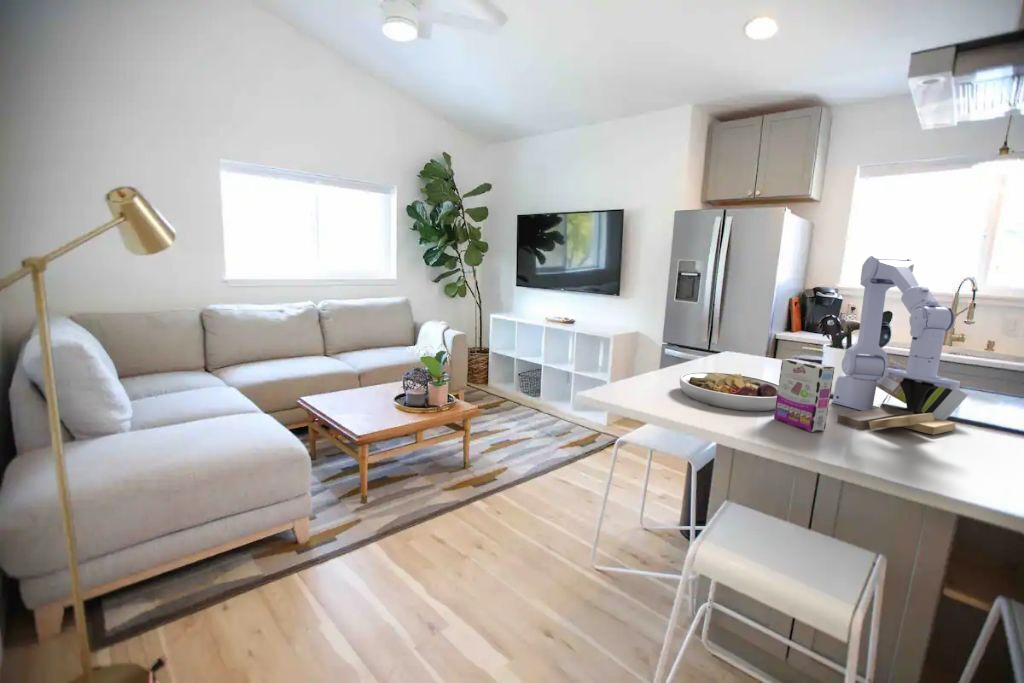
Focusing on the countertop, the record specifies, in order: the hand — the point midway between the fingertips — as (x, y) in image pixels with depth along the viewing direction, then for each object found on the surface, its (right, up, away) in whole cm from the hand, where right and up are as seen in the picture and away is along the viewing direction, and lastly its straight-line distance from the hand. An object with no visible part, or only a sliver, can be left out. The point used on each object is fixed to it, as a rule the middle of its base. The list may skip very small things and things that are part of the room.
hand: (913, 411), depth 117 cm
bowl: (-32, -1, +29) cm, 43 cm away
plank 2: (+9, -5, +8) cm, 13 cm away
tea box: (+23, 0, +18) cm, 29 cm away
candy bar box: (-25, -5, +6) cm, 26 cm away
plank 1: (-1, -4, +2) cm, 4 cm away
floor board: (0, -4, +13) cm, 13 cm away
